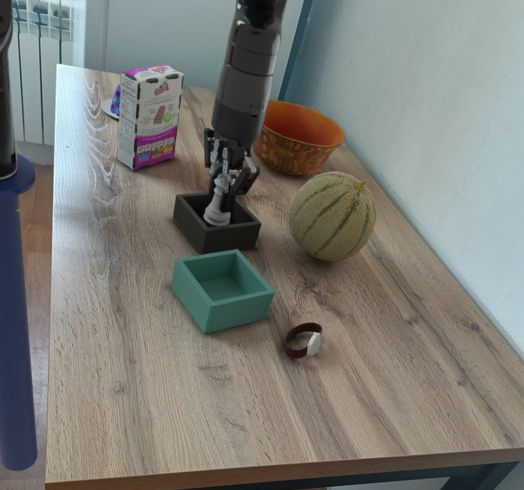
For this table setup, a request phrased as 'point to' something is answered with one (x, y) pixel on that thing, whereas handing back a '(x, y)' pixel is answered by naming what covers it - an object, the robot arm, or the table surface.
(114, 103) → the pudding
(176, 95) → the candy bar box
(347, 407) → the table surface
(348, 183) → the cantaloupe
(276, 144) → the bowl
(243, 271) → the sea-green bin
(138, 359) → the table surface
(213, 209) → the rook chess piece
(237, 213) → the charcoal bin
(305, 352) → the watch
